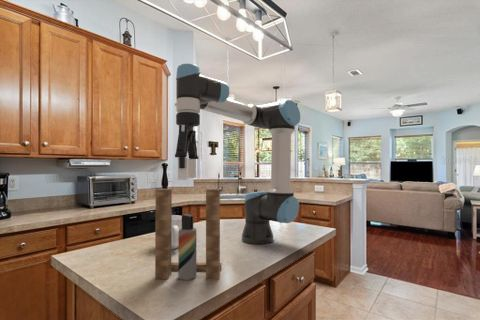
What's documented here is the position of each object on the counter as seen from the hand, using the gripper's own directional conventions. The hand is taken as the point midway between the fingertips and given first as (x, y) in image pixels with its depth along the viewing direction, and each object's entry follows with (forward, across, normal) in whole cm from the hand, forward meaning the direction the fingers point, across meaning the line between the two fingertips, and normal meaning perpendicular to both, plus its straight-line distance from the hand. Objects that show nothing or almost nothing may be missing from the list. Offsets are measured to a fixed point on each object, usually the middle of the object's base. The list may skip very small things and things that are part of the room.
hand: (187, 178), depth 86 cm
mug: (+31, -30, -14) cm, 46 cm away
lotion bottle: (+32, 0, 0) cm, 32 cm away
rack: (+31, -3, 0) cm, 32 cm away
